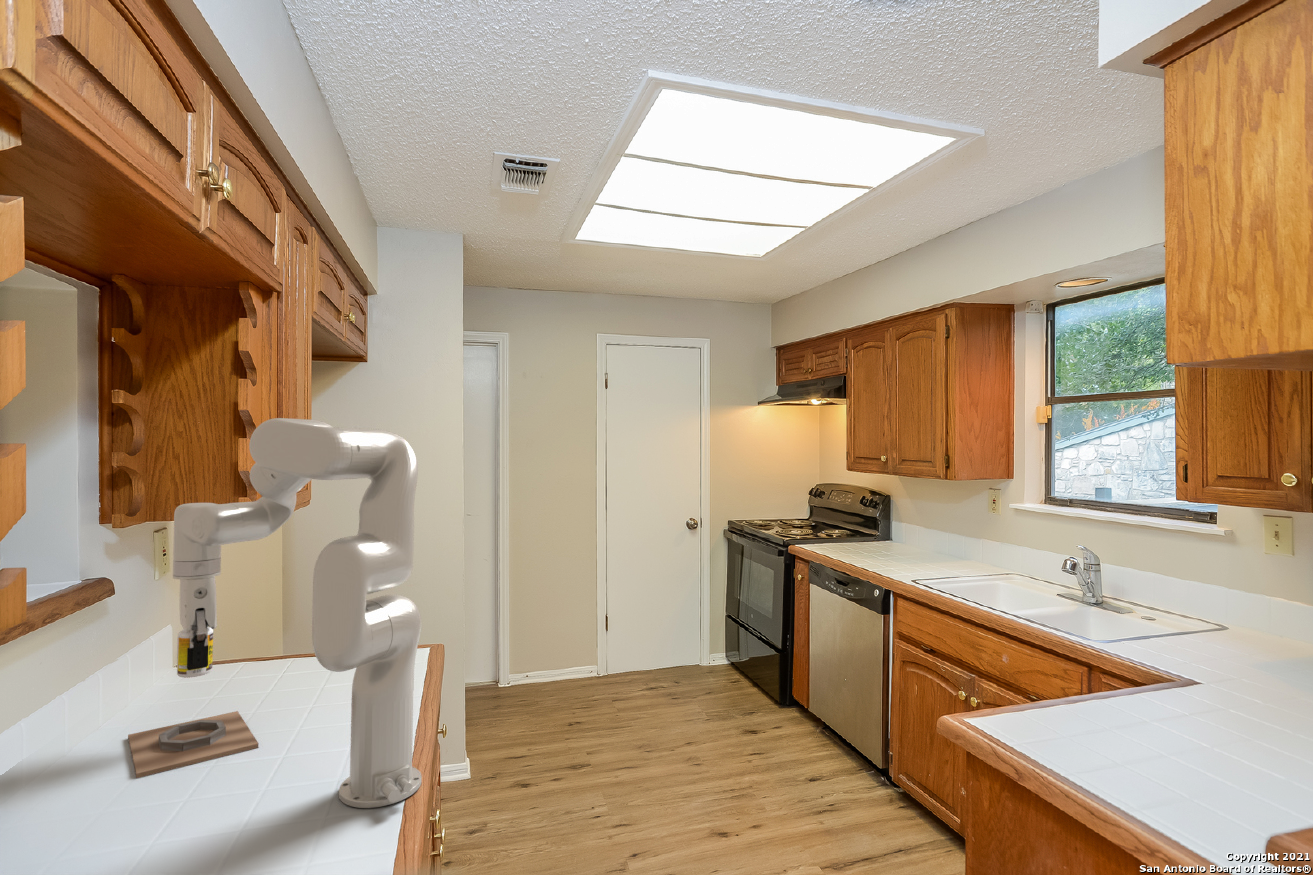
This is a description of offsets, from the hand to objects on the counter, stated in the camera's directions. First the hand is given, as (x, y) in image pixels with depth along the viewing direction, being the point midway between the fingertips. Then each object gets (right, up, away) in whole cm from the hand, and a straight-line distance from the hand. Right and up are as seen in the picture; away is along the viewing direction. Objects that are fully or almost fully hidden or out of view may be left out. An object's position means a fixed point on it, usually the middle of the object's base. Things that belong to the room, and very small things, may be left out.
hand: (194, 662), depth 126 cm
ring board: (0, -15, 0) cm, 15 cm away
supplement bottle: (0, -2, 0) cm, 2 cm away
